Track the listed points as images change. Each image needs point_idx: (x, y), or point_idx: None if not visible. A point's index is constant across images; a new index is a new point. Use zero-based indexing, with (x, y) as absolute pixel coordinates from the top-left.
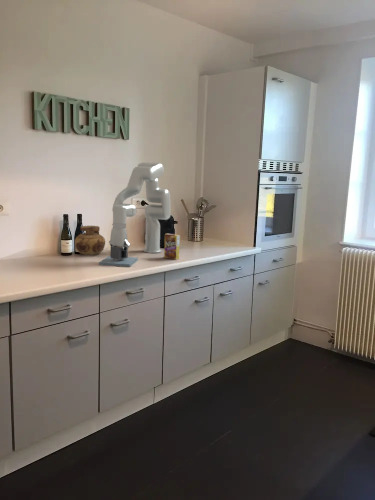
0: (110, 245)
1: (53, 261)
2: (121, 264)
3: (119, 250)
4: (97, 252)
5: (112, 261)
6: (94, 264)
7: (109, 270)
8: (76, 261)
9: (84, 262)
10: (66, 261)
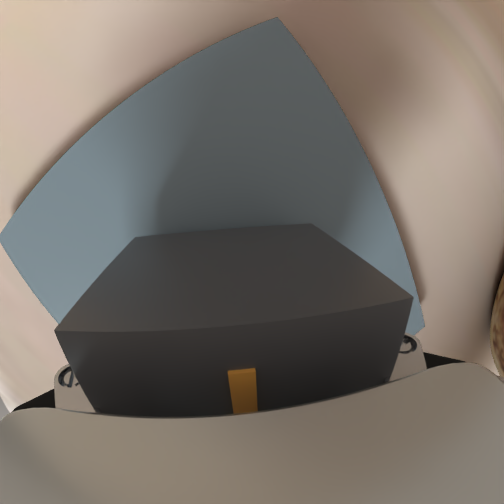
0: (462, 362)
1: (496, 16)
2: (45, 176)
3: (80, 312)
4: (501, 298)
5: (205, 168)
6: (323, 26)
7: (40, 12)
8: (471, 59)
9: (431, 53)
10: (485, 36)
